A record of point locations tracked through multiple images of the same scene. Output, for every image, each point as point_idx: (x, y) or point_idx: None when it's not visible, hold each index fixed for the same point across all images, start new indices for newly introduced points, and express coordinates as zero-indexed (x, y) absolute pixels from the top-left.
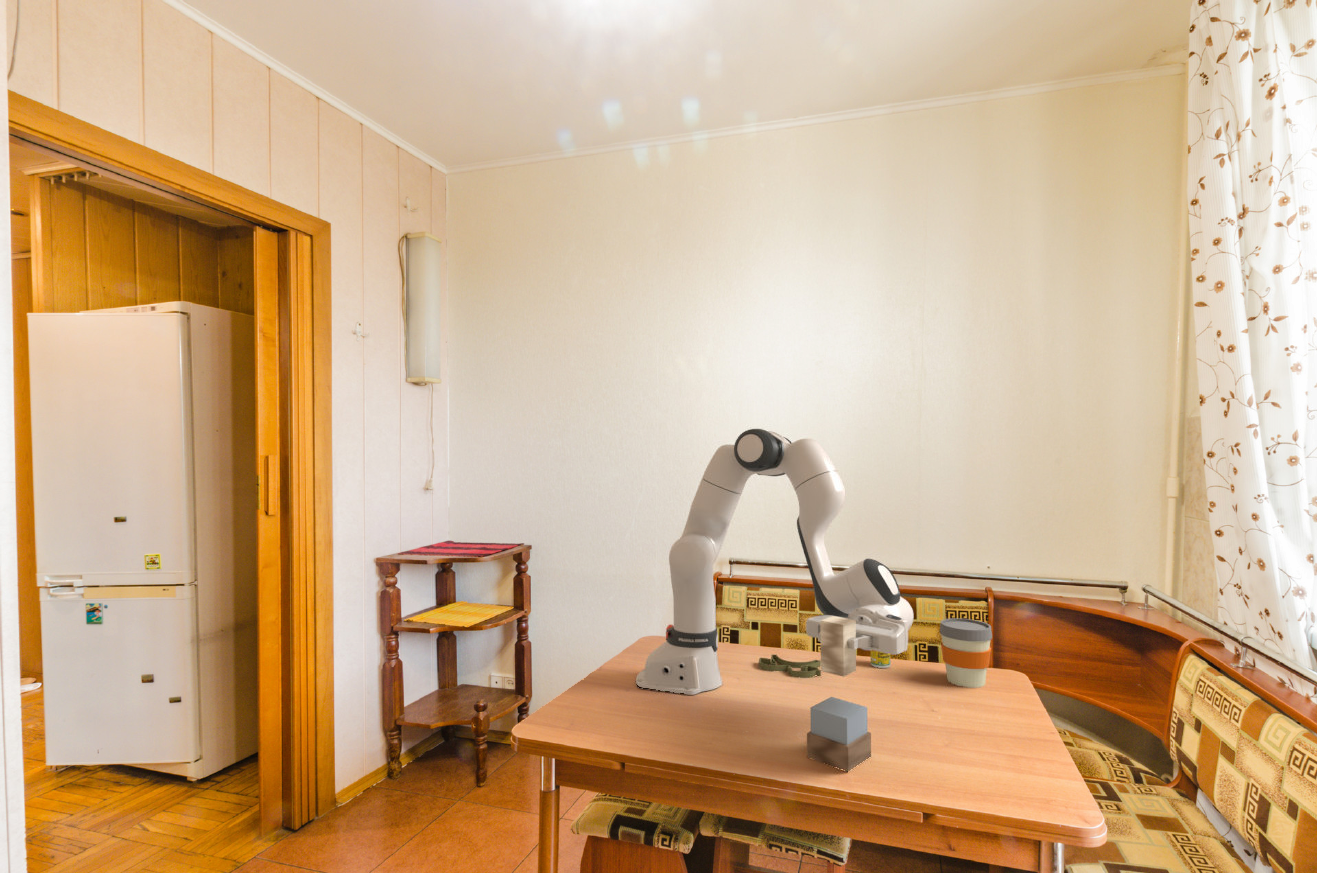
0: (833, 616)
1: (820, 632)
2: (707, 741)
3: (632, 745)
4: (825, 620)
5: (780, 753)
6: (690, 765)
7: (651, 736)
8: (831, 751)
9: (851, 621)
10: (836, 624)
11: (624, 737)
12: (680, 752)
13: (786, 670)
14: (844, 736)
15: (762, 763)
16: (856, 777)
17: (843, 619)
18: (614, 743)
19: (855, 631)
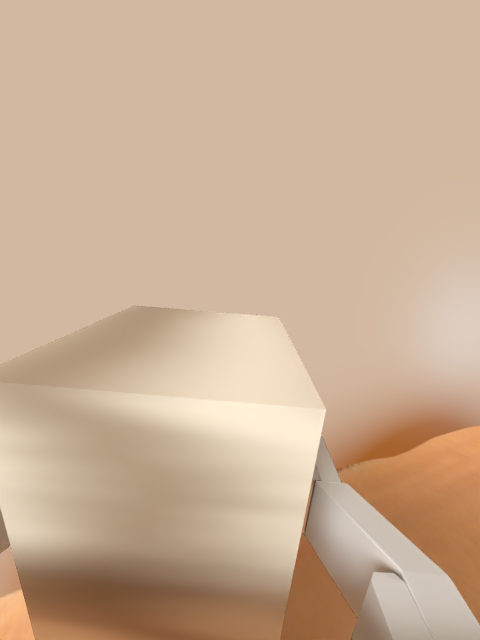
0: (297, 390)
1: (320, 442)
2: (434, 555)
3: (440, 464)
4: (259, 320)
5: (314, 625)
6: (350, 465)
7: (476, 503)
8: None
9: (58, 339)
10: (176, 312)
11: (475, 476)
12: (396, 486)
13: None
14: None
15: (300, 540)
16: None
17: (145, 355)
18: (451, 456)
19: (2, 497)
